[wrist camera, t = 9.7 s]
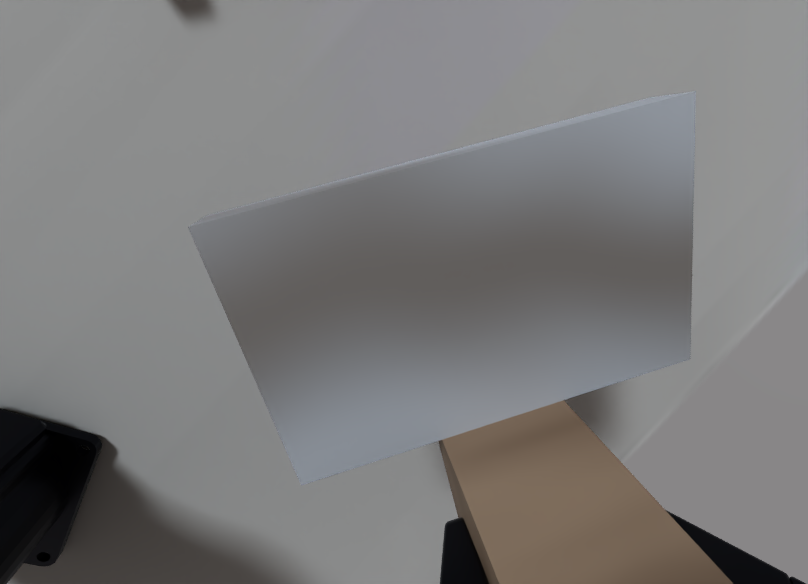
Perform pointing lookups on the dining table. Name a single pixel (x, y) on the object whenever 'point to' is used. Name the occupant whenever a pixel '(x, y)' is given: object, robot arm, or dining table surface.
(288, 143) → the dining table surface
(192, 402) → the dining table surface
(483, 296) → the turner
